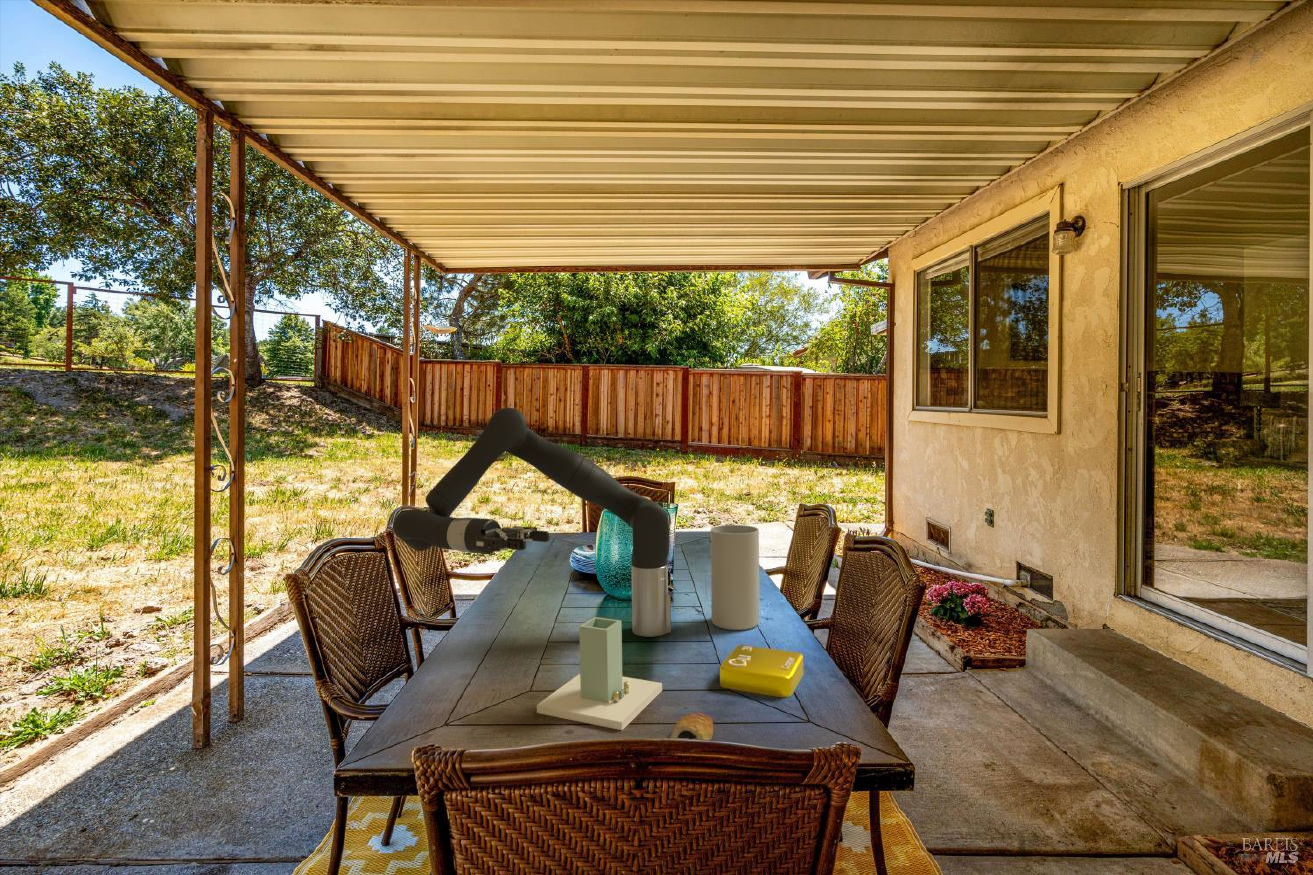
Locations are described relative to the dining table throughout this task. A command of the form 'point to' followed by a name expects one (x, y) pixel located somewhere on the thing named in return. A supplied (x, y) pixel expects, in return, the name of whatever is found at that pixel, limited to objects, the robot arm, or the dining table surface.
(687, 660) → the dining table surface
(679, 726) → the pastry
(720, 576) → the cylinder vase
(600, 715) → the base plate
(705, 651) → the dining table surface
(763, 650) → the element tile
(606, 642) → the hollow square tube
